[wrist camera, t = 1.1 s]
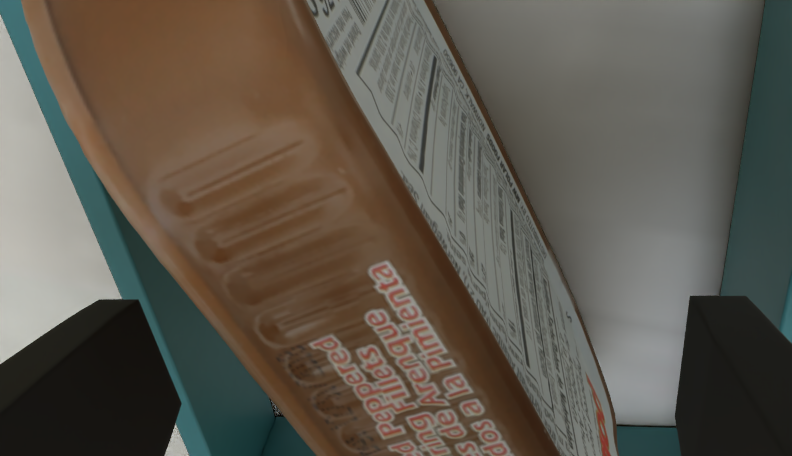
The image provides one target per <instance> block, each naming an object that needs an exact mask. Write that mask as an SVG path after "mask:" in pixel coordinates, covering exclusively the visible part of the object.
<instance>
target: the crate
mask: <svg viewBox="0 0 792 456" xmlns="http://www.w3.org/2000/svg"><path fill="white" fill-rule="evenodd" d="M0 14H1V17H2V19H3V21H4V24H5V26H6V28H7V31H8V33H9V35H10V38H11V40H12V42H13V45H14V47H15V49H16V52H17V54H18V56H19V59H20V61H21V63H22V66H23V68H24V70H25V73H26V75H27V77H28V80H29V82H30V84H31V87H32V89H33V91H34V94H35V96H36V98H37V101H38V103H39V105H40V108H41V110H42V112H43V115H44V117H45V119H46V122H47V124H48V126H49V129H50V131H51V133H52V136H53V138H54V140H55V143H56V145H57V147H58V150H59V152H60V154H61V157H62V159H63V161H64V164H65V166H66V168H67V171H68V173H69V175H70V178H71V180H72V182H73V185H74V187H75V189H76V192H77V194H78V196H79V199H80V201H81V203H82V206H83V208H84V210H85V213H86V215H87V217H88V220H89V222H90V224H91V227H92V229H93V231H94V234H95V236H96V238H97V241H98V243H99V245H100V248H101V250H102V252H103V255H104V257H105V259H106V262H107V264H108V266H109V269H110V271H111V273H112V276H113V278H114V280H115V283H116V285H117V287H118V290H119V292H120V295H121V297H122V299H139V301H140V304H141V306H142V309H143V311H144V314H145V316H146V318H147V321H148V323H149V326H150V328H151V330H152V333H153V335H154V338H155V340H156V342H157V345H158V347H159V350H160V352H161V355H162V357H163V359H164V362H165V364H166V367H167V369H168V371H169V374H170V376H171V379H172V381H173V383H174V386H175V388H176V391H177V393H178V396H179V398H180V400H181V403H182V405H181V408H180V411H179V414H178V417H177V420H176V425H177V428H178V430H179V432H180V435H181V437H182V439H183V442H184V444H185V446H186V449H187V451H188V453H189V456H316V455H315V453H314V452H313V451H312V450H311V449H310V448H309V446H308V445H307V444H306V443H305V442H304V440H303V439H302V438H301V437H300V435H299V434H298V433H297V432H296V430H295V429H294V428H293V426H292V425H291V424H290V423H289V422H288V420H287V419H286V418H285V417H276V418H275V416H274V413H273V409H272V406H271V403H270V400H269V397H268V395H267V394H266V393H265V392H264V391H263V390H262V388H261V387H260V386H259V384H258V383H257V382H256V381H255V380H254V379H253V377H252V376H251V375H250V374H249V372H248V371H247V370H246V369H245V367H244V366H243V365H242V363H241V362H240V361H239V360H238V358H237V357H236V356H235V354H234V353H233V352H232V350H231V349H230V348H229V346H228V345H227V344H226V343H225V341H224V340H223V339H222V338H221V336H220V335H219V334H218V333H217V331H216V330H215V329H214V328H213V326H212V325H211V324H210V323H209V321H208V320H207V319H206V318H205V316H204V315H203V314H202V313H201V311H200V310H199V309H198V308H197V307H196V305H195V304H194V303H193V302H192V300H191V299H190V298H189V297H188V295H187V294H186V293H185V292H184V290H183V289H182V288H181V287H180V285H179V284H178V283H177V282H176V280H175V279H174V278H173V277H172V275H171V274H170V273H169V272H168V271H167V270H166V268H165V267H164V266H163V265H162V264H161V263H160V261H159V260H158V259H157V257H156V256H155V255H154V253H153V252H152V251H151V249H150V248H149V247H148V245H147V244H146V243H145V241H144V240H143V239H142V238H141V236H140V235H139V234H138V232H137V231H136V230H135V229H134V228H133V226H132V225H131V224H130V223H129V221H128V220H127V218H126V217H125V216H124V214H123V213H122V211H121V210H120V208H119V207H118V206H117V204H116V203H115V201H114V200H113V199H112V197H111V196H110V194H109V193H108V191H107V190H106V188H105V186H104V185H103V183H102V182H101V180H100V178H99V177H98V175H97V174H96V172H95V171H94V169H93V168H92V166H91V164H90V163H89V161H88V160H87V158H86V157H85V155H84V153H83V151H82V149H81V146H80V144H79V142H78V140H77V139H76V137H75V135H74V133H73V132H72V130H71V129H70V127H69V126H68V124H67V122H66V120H65V118H64V116H63V114H62V111H61V109H60V106H59V103H58V101H57V98H56V96H55V94H54V92H53V90H52V88H51V86H50V84H49V82H48V80H47V77H46V75H45V72H44V70H43V67H42V65H41V63H40V60H39V58H38V55H37V53H36V50H35V47H34V44H33V40H32V37H31V34H30V30H29V27H28V24H27V22H26V20H25V16H24V12H23V7H22V3H21V0H0ZM720 296H746V297H748V298H749V299H750V300H751V301H752V302H753V303H754V304H755V305H756V306H757V307H758V308H759V309H760V310H761V311H762V312H763V313H764V315H765V316H766V317H767V318H768V319H769V320H770V321H771V322H772V323H773V324H774V325H775V326H776V327H777V328H778V329H779V330H780V331H781V332H782V333H783V335H784V336H785V337H786V338H787V339H788V340H789V341H790V342H791V343H792V0H766V1H765V7H764V14H763V20H762V27H761V34H760V40H759V47H758V53H757V60H756V66H755V73H754V79H753V86H752V92H751V99H750V105H749V112H748V118H747V125H746V131H745V138H744V144H743V151H742V157H741V164H740V170H739V177H738V183H737V190H736V196H735V203H734V209H733V216H732V222H731V229H730V235H729V242H728V248H727V255H726V261H725V268H724V274H723V281H722V287H721V294H720ZM616 427H617V446H618V452H619V456H681V451H680V445H679V439H678V433H677V428H664V427H628V426H616Z"/></svg>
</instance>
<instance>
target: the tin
mask: <svg viewBox="0 0 792 456" xmlns="http://www.w3.org/2000/svg"><path fill="white" fill-rule="evenodd" d="M21 3H22V7H23V12H24V16H25V20H26V22H27V24H28V27H29V30H30V34H31V37H32V40H33V44H34V47H35V50H36V53H37V55H38V58H39V60H40V63H41V65H42V67H43V70H44V72H45V75H46V77H47V80H48V82H49V84H50V86H51V88H52V90H53V92H54V94H55V96H56V98H57V101H58V103H59V106H60V109H61V111H62V114H63V116H64V118H65V120H66V122H67V124H68V126H69V127H70V129H71V130H72V132H73V133H74V135H75V137H76V139H77V140H78V142H79V144H80V146H81V149H82V151H83V153H84V155H85V157H86V158H87V160H88V161H89V163H90V164H91V166H92V168H93V169H94V171H95V172H96V174H97V175H98V177H99V178H100V180H101V182H102V183H103V185H104V186H105V188H106V190H107V191H108V193H109V194H110V196H111V197H112V199H113V200H114V201H115V203H116V204H117V206H118V207H119V208H120V210H121V211H122V213H123V214H124V216H125V217H126V218H127V220H128V221H129V223H130V224H131V225H132V226H133V228H134V229H135V230H136V231H137V232H138V234H139V235H140V236H141V238H142V239H143V240H144V241H145V243H146V244H147V245H148V247H149V248H150V249H151V251H152V252H153V253H154V255H155V256H156V257H157V259H158V260H159V261H160V263H161V264H162V265H163V266H164V267H165V268H166V270H167V271H168V272H169V273H170V274H171V275H172V277H173V278H174V279H175V280H176V282H177V283H178V284H179V285H180V287H181V288H182V289H183V290H184V292H185V293H186V294H187V295H188V297H189V298H190V299H191V300H192V302H193V303H194V304H195V305H196V307H197V308H198V309H199V310H200V311H201V313H202V314H203V315H204V316H205V318H206V319H207V320H208V321H209V323H210V324H211V325H212V326H213V328H214V329H215V330H216V331H217V333H218V334H219V335H220V336H221V338H222V339H223V340H224V341H225V343H226V344H227V345H228V346H229V348H230V349H231V350H232V352H233V353H234V354H235V356H236V357H237V358H238V360H239V361H240V362H241V363H242V365H243V366H244V367H245V369H246V370H247V371H248V372H249V374H250V375H251V376H252V377H253V379H254V380H255V381H256V382H257V383H258V384H259V386H260V387H261V388H262V390H263V391H264V392H265V393H266V394H267V395H268V397H269V398H270V399H271V400H272V402H273V403H274V404H275V405H276V406H277V407H278V409H279V410H280V411H281V413H282V414H283V416H284V417H285V418H286V419H287V420H288V422H289V423H290V424H291V425H292V426H293V428H294V429H295V430H296V432H297V433H298V434H299V435H300V437H301V438H302V439H303V440H304V442H305V443H306V444H307V445H308V446H309V448H310V449H311V450H312V451H313V452H314V453H315V455H316V456H619V452H618V446H617V427H616V419H615V412H614V409H613V405H612V402H611V398H610V395H609V392H608V389H607V386H606V383H605V380H604V377H603V374H602V371H601V368H600V366H599V363H598V360H597V357H596V355H595V352H594V349H593V347H592V344H591V341H590V339H589V336H588V333H587V331H586V328H585V326H584V323H583V321H582V318H581V315H580V313H579V310H578V308H577V305H576V303H575V300H574V298H573V296H572V294H571V291H570V289H569V287H568V285H567V282H566V280H565V278H564V275H563V273H562V271H561V269H560V266H559V264H558V262H557V260H556V257H555V255H554V253H553V251H552V249H551V247H550V245H549V243H548V241H547V239H546V237H545V235H544V232H543V230H542V228H541V226H540V224H539V222H538V220H537V218H536V215H535V213H534V211H533V209H532V207H531V205H530V202H529V200H528V198H527V196H526V194H525V192H524V190H523V188H522V185H521V183H520V181H519V179H518V177H517V175H516V173H515V170H514V168H513V166H512V164H511V162H510V159H509V157H508V155H507V153H506V151H505V149H504V146H503V144H502V142H501V140H500V138H499V136H498V133H497V131H496V129H495V127H494V125H493V123H492V121H491V119H490V117H489V115H488V113H487V111H486V109H485V107H484V104H483V102H482V100H481V98H480V96H479V94H478V92H477V90H476V88H475V86H474V84H473V82H472V80H471V78H470V76H469V74H468V72H467V70H466V68H465V66H464V64H463V62H462V60H461V58H460V55H459V53H458V51H457V49H456V47H455V45H454V43H453V41H452V39H451V37H450V35H449V33H448V31H447V29H446V27H445V25H444V23H443V21H442V19H441V17H440V15H439V13H438V11H437V9H436V7H435V6H434V4H433V2H432V0H21Z"/></svg>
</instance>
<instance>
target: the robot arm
mask: <svg viewBox="0 0 792 456" xmlns="http://www.w3.org/2000/svg"><path fill="white" fill-rule="evenodd" d="M181 405H182V403H181V400H180V398H179V396H178V393H177V391H176V388H175V386H174V383H173V381H172V379H171V376H170V374H169V371H168V369H167V367H166V364H165V362H164V359H163V357H162V355H161V352H160V350H159V347H158V345H157V342H156V340H155V338H154V335H153V333H152V330H151V328H150V326H149V323H148V321H147V318H146V316H145V314H144V311H143V309H142V306H141V304H140V301H139V299H119V300H98V301H96V302H95V303H93V304H91V305H89V306H88V307H86V308H84V309H82V310H81V311H79V312H78V313H76V314H74V315H73V316H71V317H70V318H68V319H67V320H65V321H64V322H62V323H60V324H59V325H57V326H56V327H54V328H53V329H51V330H50V331H48V332H47V333H45V334H44V335H43V336H41V337H40V338H38V339H37V340H35V341H34V342H32V343H31V344H29V345H28V346H26V347H25V348H23V349H22V350H21V351H19V352H18V353H16V354H15V355H13V356H12V357H10V358H9V359H7V360H6V361H5V362H3V363H2V364H0V456H164V455H165V452H166V449H167V447H168V444H169V441H170V438H171V435H172V432H173V429H174V426H175V423H176V420H177V417H178V414H179V411H180V408H181ZM675 420H676V426H677V433H678V439H679V445H680V451H681V456H792V343H791V342H790V341H789V340H788V339H787V338H786V337H785V336H784V335H783V333H782V332H781V331H780V330H779V329H778V328H777V327H776V326H775V325H774V324H773V323H772V322H771V321H770V320H769V319H768V318H767V317H766V316H765V315H764V313H763V312H762V311H761V310H760V309H759V308H758V307H757V306H756V305H755V304H754V303H753V302H752V301H751V300H750V299H749V298H748V297H746V296H690V300H689V308H688V316H687V324H686V332H685V340H684V348H683V356H682V364H681V372H680V380H679V388H678V396H677V404H676V412H675Z"/></svg>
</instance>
